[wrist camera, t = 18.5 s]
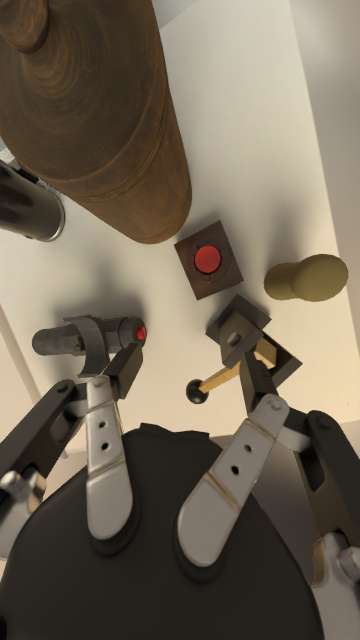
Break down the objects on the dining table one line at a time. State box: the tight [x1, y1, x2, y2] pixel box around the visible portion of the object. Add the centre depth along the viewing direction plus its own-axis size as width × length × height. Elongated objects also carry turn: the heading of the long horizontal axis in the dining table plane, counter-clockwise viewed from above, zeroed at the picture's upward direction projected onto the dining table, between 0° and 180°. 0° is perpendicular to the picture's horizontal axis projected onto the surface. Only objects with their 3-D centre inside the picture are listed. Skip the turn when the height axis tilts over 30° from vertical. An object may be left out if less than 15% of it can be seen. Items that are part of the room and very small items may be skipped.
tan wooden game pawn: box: [264, 254, 348, 302], centre depth 23 cm, size 6×6×11 cm
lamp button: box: [195, 246, 220, 273], centre depth 25 cm, size 4×4×2 cm
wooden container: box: [0, 0, 192, 244], centre depth 19 cm, size 15×15×22 cm
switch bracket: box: [206, 294, 303, 388], centre depth 23 cm, size 9×7×16 cm
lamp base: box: [174, 220, 244, 301], centre depth 28 cm, size 10×8×4 cm
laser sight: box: [32, 315, 147, 378], centre depth 31 cm, size 10×22×10 cm, turn 98°
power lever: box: [186, 338, 277, 404], centre depth 21 cm, size 15×3×3 cm, turn 143°
